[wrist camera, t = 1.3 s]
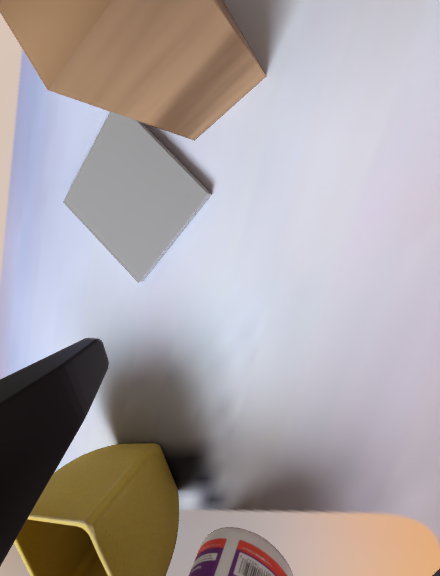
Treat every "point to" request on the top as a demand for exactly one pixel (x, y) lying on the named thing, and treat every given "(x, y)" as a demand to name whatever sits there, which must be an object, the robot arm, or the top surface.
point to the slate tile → (134, 194)
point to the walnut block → (139, 57)
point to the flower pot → (104, 516)
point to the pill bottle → (238, 555)
